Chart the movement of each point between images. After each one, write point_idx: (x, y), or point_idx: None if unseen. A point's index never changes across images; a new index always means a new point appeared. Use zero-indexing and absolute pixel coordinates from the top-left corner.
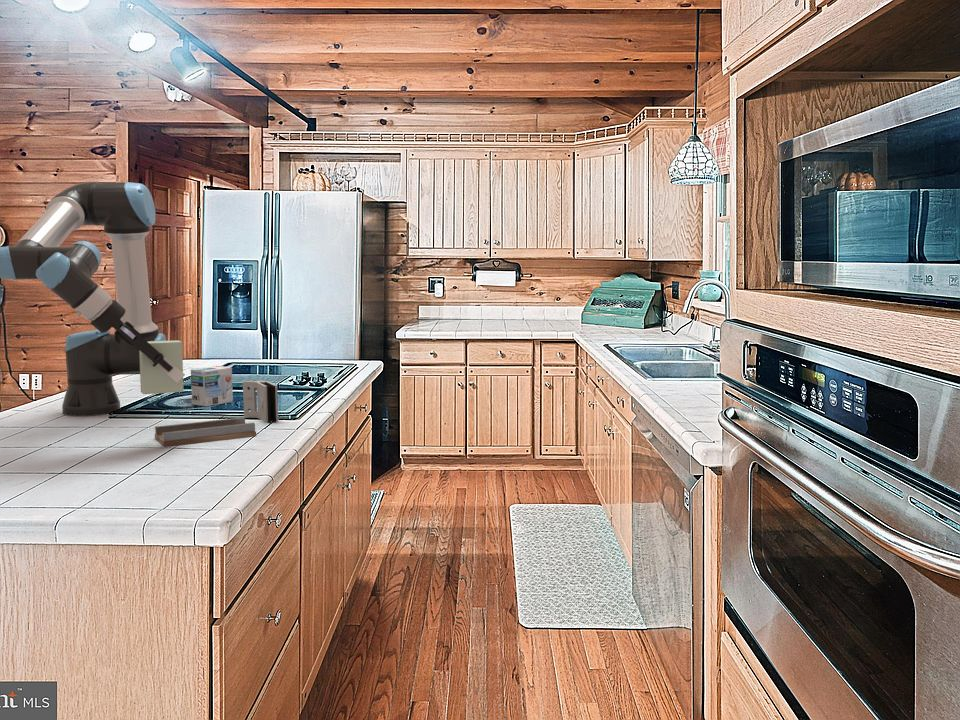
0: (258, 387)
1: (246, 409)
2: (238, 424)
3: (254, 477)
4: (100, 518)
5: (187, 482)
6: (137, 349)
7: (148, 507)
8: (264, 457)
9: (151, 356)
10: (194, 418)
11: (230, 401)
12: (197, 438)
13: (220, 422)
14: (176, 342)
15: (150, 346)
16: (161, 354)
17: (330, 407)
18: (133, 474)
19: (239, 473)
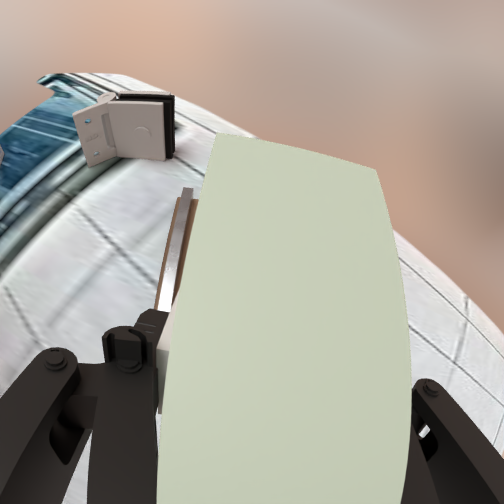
0: (119, 110)
1: (91, 155)
2: None
3: (470, 313)
4: (500, 454)
5: (467, 386)
6: (60, 500)
7: (500, 421)
8: (407, 268)
9: (433, 453)
10: (34, 235)
11: (3, 155)
12: None
13: (183, 235)
14: (387, 211)
15: (490, 457)
16: (443, 390)
17: (144, 85)
18: None
19: (458, 323)
